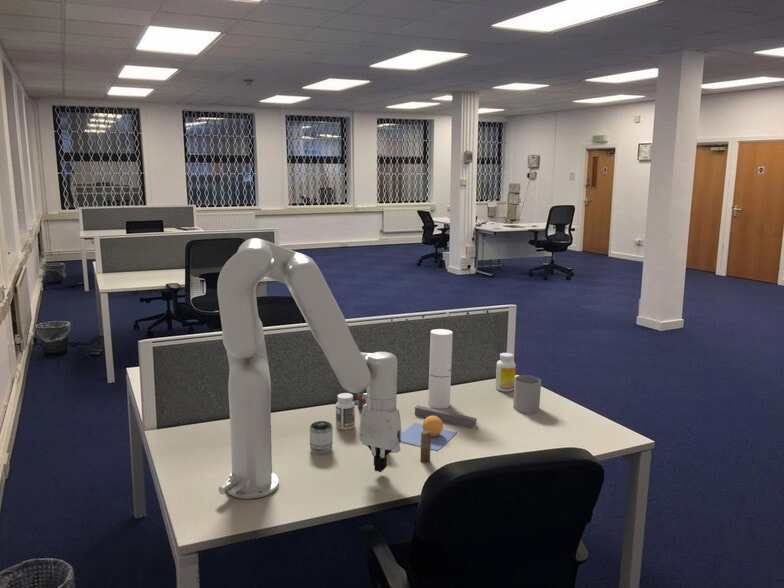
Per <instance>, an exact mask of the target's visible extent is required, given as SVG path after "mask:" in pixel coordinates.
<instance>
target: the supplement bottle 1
mask: <svg viewBox="0 0 784 588" xmlns="http://www.w3.org/2000/svg"><path fill="white" fill-rule="evenodd" d="M366 389H367V388H366ZM366 389H365V390H364V391H362V392H359V393H357V408H358V410H360V411H362V409H363V406H364V405H365V404H366V400H365V399H363V398H362V395H363V394H364V393H365V394H366Z"/></svg>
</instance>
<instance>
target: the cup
mask: <svg viewBox="0 0 784 588" xmlns="http://www.w3.org/2000/svg"><path fill="white" fill-rule="evenodd" d="M541 388H542V379H541V378H539V377H537V376H534V375H521V374H520V375H518V376H515V384H514V390H513V403H512V407H513V409H514V410H515V411H516V412H519V413H522V414H535V413H538V412H539V411H540V403H541V391H542V389H541Z"/></svg>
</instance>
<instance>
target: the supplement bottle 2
mask: <svg viewBox="0 0 784 588" xmlns="http://www.w3.org/2000/svg"><path fill="white" fill-rule="evenodd" d="M495 367H496V370H495V389H496V390H498V391H500V392H504V393H505V392H509V393H510V392H514V384H515V378H516V367H517V366H516V363H515V361H514V354H513V353H510V352H502V353H501V352H500V354H499V360H497V362H496V366H495Z"/></svg>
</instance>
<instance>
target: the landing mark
mask: <svg viewBox="0 0 784 588" xmlns="http://www.w3.org/2000/svg"><path fill="white" fill-rule="evenodd" d="M422 431H424V430H423V423H417V422H414V423H412V424H411V425H410V426H408V427H407V428H406V429H405V430H403V431H401V443H404V444H407V445H412V446H415V447H420V448H421V432H422ZM457 434H458V432H457V431H452V430H448V429H444V428H443V430H442V432H441V433H440V434H439V435H438V436H434V437H432V436H431V448H430V451H431V450H432V451H435V452H438V451H440V450H441V449H442V448H443V447H444V446H445V445H446V444H447V443H448V442H449V441H451V439H452V438H454V437H455V435H457Z"/></svg>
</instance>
